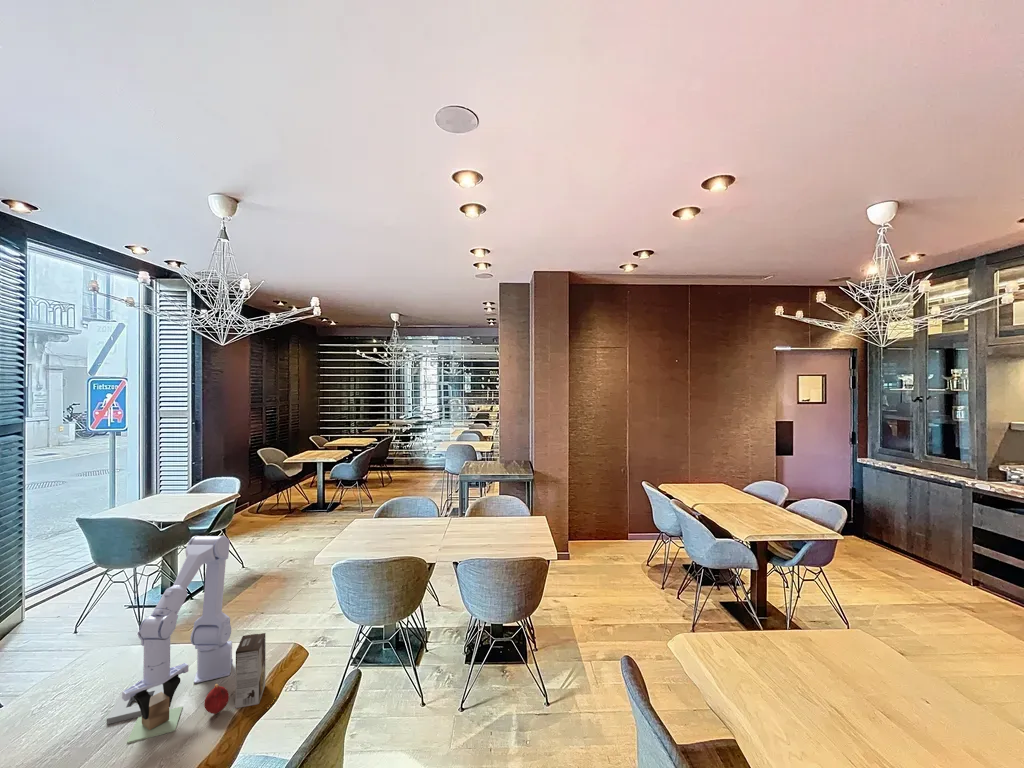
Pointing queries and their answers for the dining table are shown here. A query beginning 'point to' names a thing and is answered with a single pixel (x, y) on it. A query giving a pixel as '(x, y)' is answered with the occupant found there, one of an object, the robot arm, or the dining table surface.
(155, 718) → the walnut block
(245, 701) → the coffee box
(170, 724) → the felt mat
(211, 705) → the onion
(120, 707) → the pocket board
